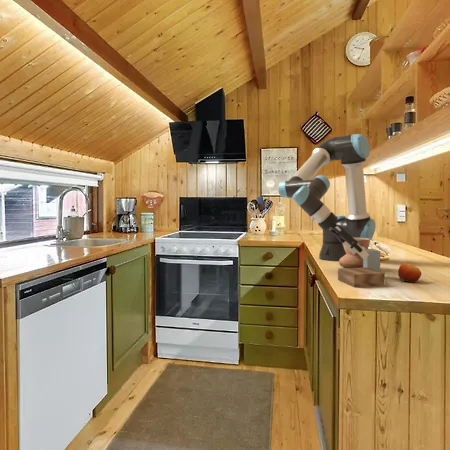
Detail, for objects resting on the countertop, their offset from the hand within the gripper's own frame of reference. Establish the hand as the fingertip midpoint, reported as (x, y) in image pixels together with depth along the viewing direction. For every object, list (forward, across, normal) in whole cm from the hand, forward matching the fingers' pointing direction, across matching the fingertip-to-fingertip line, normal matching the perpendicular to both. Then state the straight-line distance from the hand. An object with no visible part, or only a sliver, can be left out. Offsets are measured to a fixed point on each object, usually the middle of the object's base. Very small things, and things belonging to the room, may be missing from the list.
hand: (361, 254), depth 147 cm
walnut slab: (+4, +11, -9) cm, 15 cm away
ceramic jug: (+9, -18, -4) cm, 21 cm away
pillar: (+10, -1, -3) cm, 10 cm away
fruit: (+18, +7, +5) cm, 20 cm away
